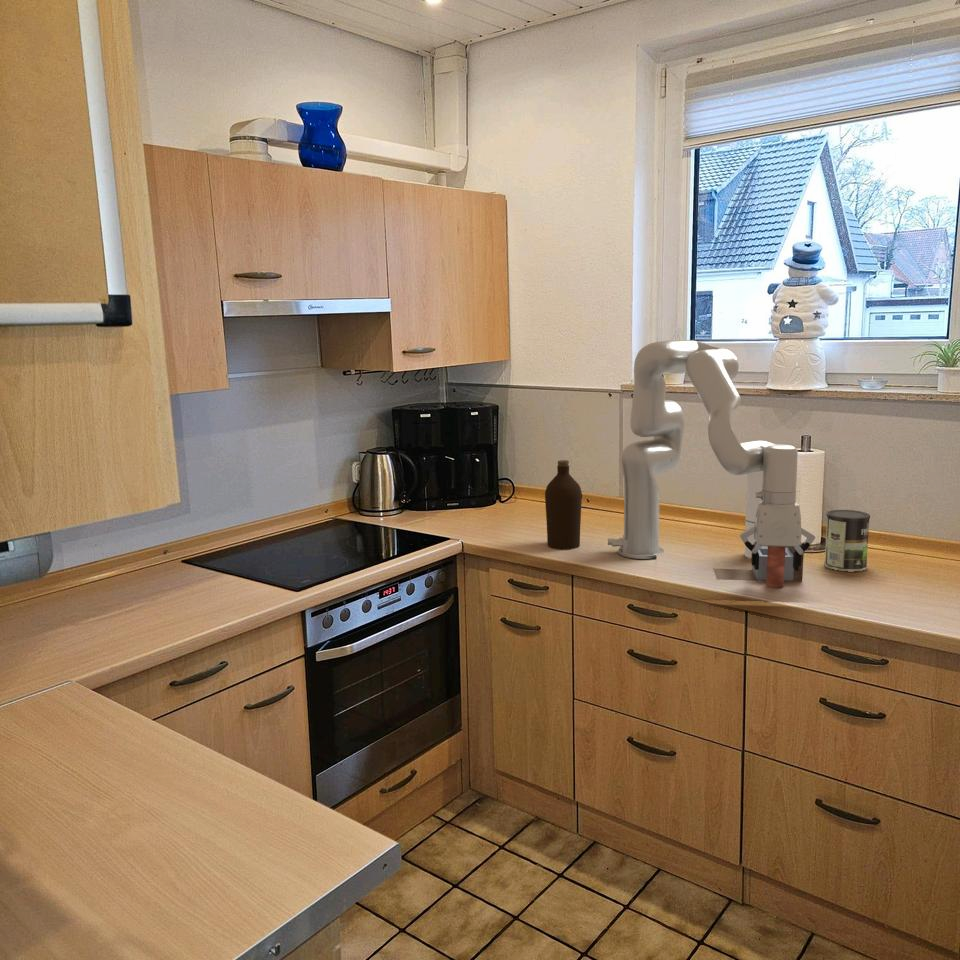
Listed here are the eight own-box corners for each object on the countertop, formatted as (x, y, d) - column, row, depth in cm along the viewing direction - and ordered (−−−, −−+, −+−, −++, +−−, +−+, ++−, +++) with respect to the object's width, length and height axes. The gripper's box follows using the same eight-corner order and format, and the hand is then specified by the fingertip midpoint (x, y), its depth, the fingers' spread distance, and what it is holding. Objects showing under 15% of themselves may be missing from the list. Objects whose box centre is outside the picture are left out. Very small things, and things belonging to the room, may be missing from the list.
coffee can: (869, 564, 222) (872, 511, 220) (863, 574, 214) (866, 519, 211) (827, 559, 228) (830, 507, 225) (820, 569, 219) (823, 515, 216)
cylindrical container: (773, 563, 225) (777, 470, 220) (745, 562, 226) (749, 470, 222) (770, 556, 232) (774, 465, 227) (743, 555, 233) (746, 465, 229)
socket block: (757, 579, 208) (758, 556, 207) (752, 569, 216) (752, 547, 215) (793, 580, 206) (794, 557, 205) (787, 570, 215) (788, 547, 214)
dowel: (767, 592, 202) (769, 543, 200) (764, 586, 206) (766, 538, 203) (785, 592, 201) (787, 543, 199) (782, 587, 205) (784, 539, 203)
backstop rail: (717, 583, 209) (718, 543, 208) (713, 572, 218) (714, 534, 216) (802, 585, 206) (804, 545, 204) (794, 574, 215) (796, 536, 213)
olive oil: (563, 552, 240) (563, 465, 236) (537, 545, 248) (536, 461, 244) (589, 545, 247) (589, 460, 242) (563, 539, 255) (563, 456, 250)
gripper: (742, 500, 197) (740, 572, 200) (821, 501, 194) (817, 574, 197) (738, 494, 204) (736, 563, 207) (814, 494, 201) (810, 565, 204)
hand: (775, 568), depth 202 cm, fingers open, 8 cm apart
